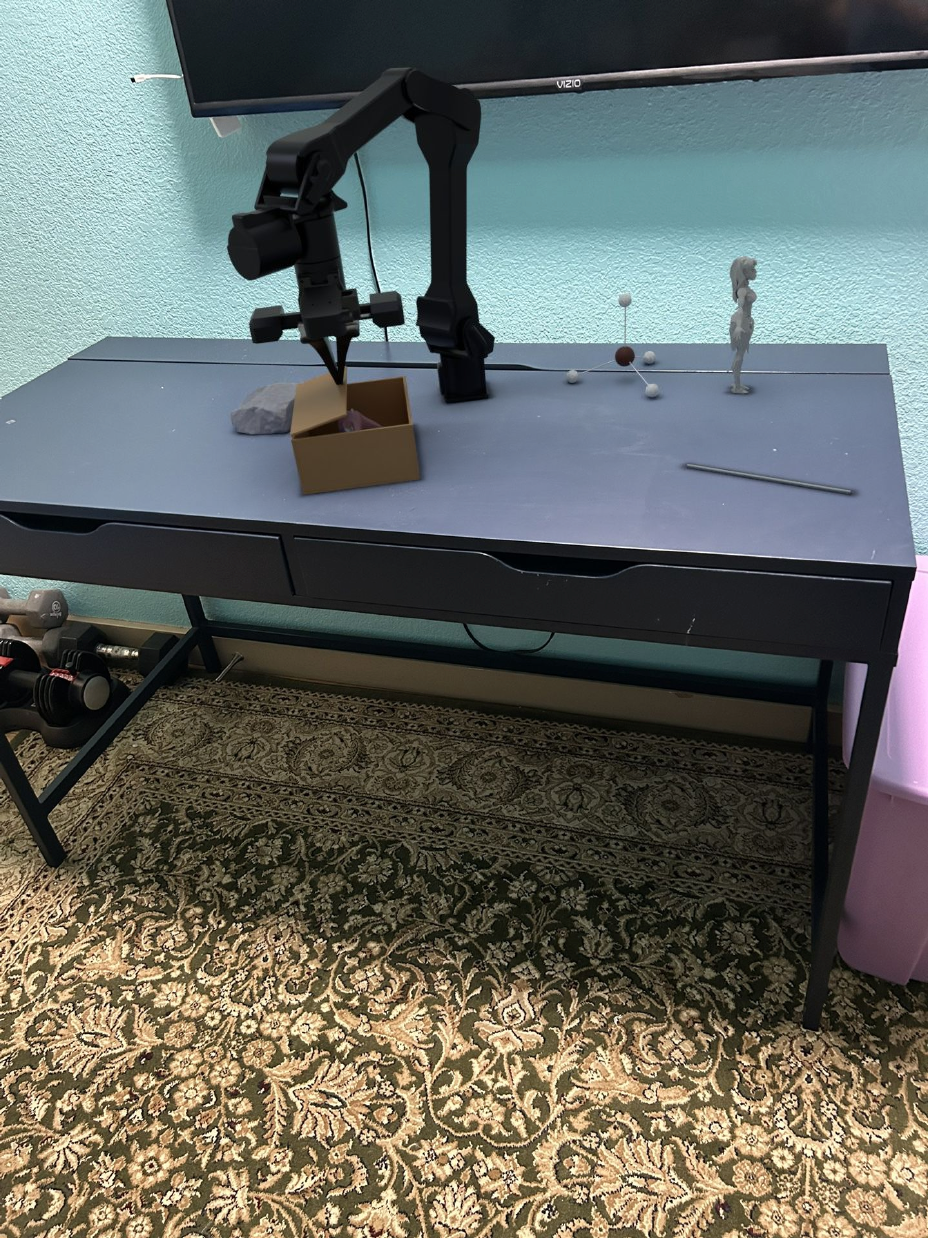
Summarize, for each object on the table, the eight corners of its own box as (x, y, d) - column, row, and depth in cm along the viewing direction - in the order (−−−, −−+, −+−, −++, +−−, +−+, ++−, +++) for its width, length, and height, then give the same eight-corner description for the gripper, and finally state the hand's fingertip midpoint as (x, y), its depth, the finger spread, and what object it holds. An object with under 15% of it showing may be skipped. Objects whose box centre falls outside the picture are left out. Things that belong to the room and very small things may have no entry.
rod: (851, 497, 100) (852, 491, 100) (686, 469, 109) (686, 464, 109) (852, 494, 100) (853, 488, 100) (688, 467, 109) (688, 462, 109)
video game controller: (361, 450, 124) (330, 410, 120) (388, 432, 123) (358, 392, 119) (362, 482, 116) (329, 441, 112) (391, 464, 115) (358, 421, 111)
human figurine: (746, 407, 121) (759, 269, 111) (717, 407, 122) (727, 270, 112) (750, 374, 130) (762, 244, 120) (723, 374, 131) (733, 245, 121)
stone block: (233, 445, 131) (292, 432, 128) (219, 414, 129) (280, 400, 125) (264, 415, 141) (321, 402, 137) (252, 386, 138) (309, 372, 135)
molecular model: (564, 381, 135) (561, 296, 127) (651, 360, 139) (653, 276, 131) (608, 411, 124) (608, 320, 117) (701, 387, 128) (706, 297, 121)
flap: (346, 415, 107) (345, 413, 107) (291, 436, 108) (290, 434, 108) (347, 367, 121) (346, 365, 121) (297, 386, 122) (296, 384, 121)
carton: (420, 479, 113) (412, 424, 109) (303, 495, 112) (290, 440, 108) (412, 426, 127) (405, 375, 122) (307, 440, 126) (297, 389, 122)
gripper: (231, 285, 100) (262, 417, 109) (397, 264, 100) (415, 397, 109) (240, 260, 109) (269, 384, 118) (393, 241, 109) (410, 366, 118)
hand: (339, 383), depth 116 cm, fingers closed
